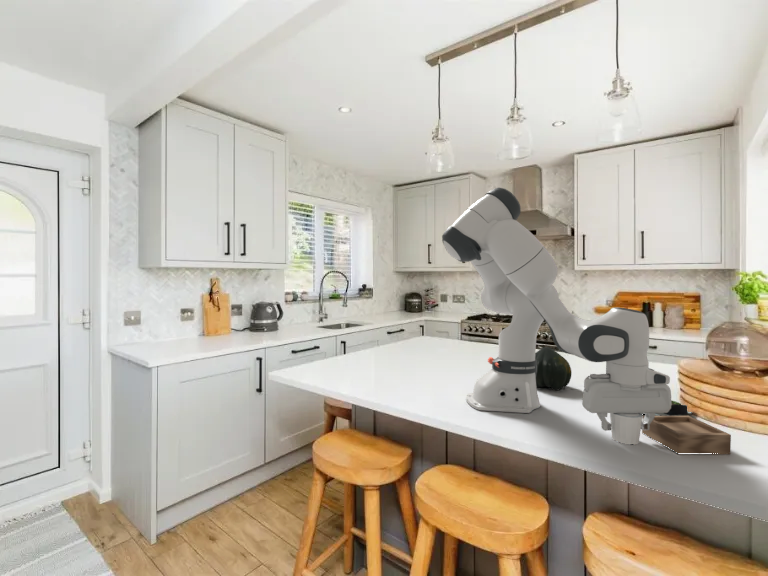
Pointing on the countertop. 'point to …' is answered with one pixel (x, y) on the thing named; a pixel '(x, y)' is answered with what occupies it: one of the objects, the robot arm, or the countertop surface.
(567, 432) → the countertop surface
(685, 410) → the salad plate
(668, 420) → the walnut stand
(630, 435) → the shot glass
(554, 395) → the countertop surface
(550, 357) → the squash
